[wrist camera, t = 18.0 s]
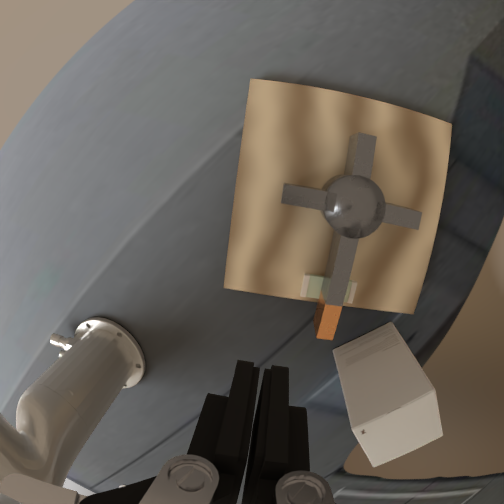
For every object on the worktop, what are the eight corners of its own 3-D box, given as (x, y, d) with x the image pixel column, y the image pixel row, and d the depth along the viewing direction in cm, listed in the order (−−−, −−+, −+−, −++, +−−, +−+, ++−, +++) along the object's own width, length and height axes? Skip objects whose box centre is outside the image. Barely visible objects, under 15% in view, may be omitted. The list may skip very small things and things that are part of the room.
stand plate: (225, 283, 38) (223, 288, 36) (252, 82, 32) (250, 78, 30) (409, 309, 37) (413, 314, 35) (446, 125, 30) (452, 123, 29)
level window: (300, 294, 36) (300, 296, 35) (304, 273, 35) (304, 275, 34) (350, 301, 35) (352, 303, 35) (356, 280, 35) (357, 282, 34)
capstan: (373, 325, 36) (383, 345, 31) (262, 309, 37) (259, 329, 32) (413, 153, 30) (432, 152, 26) (291, 126, 31) (293, 119, 26)
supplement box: (352, 392, 41) (371, 470, 26) (330, 348, 39) (348, 429, 25) (408, 365, 39) (445, 437, 24) (392, 319, 37) (436, 389, 23)
